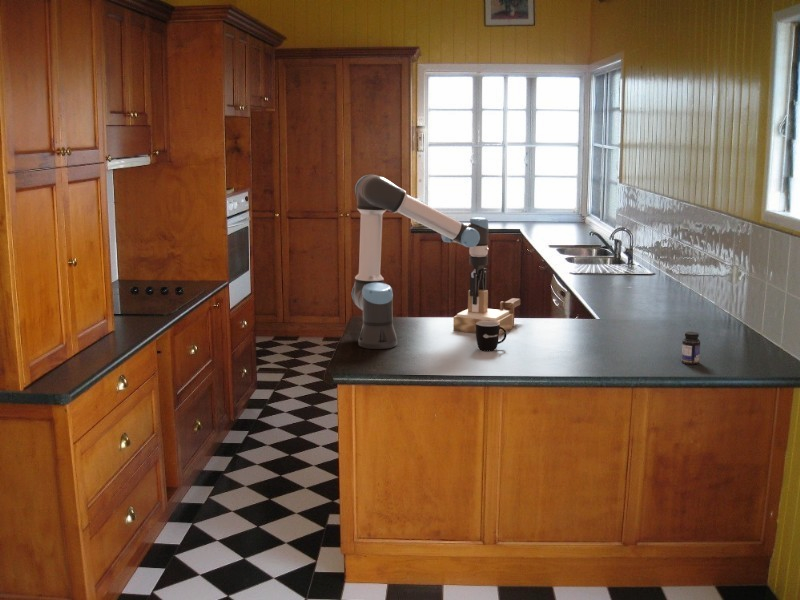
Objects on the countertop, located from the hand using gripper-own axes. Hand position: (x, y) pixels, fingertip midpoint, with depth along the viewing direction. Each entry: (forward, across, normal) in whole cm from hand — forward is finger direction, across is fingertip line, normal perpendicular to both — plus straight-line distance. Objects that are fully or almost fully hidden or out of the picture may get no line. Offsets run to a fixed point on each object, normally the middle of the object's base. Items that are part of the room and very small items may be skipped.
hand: (477, 310), depth 368 cm
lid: (+2, 0, -2) cm, 3 cm away
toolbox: (+8, +1, -3) cm, 8 cm away
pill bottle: (+8, -14, -88) cm, 90 cm away
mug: (+8, -29, -17) cm, 34 cm away
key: (0, +16, -9) cm, 19 cm away
